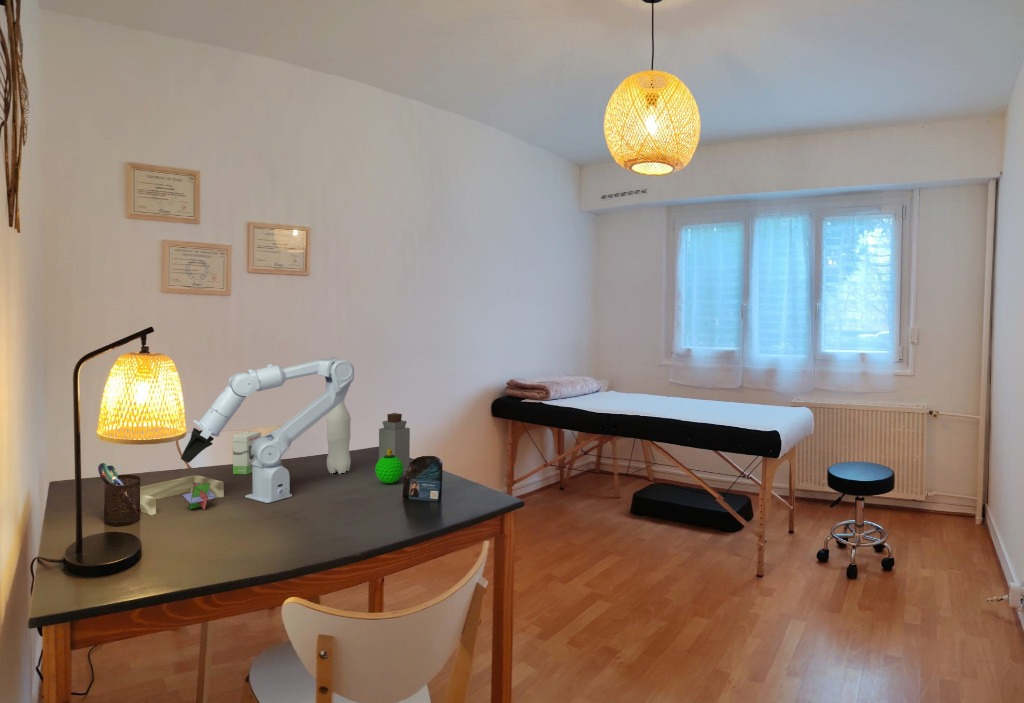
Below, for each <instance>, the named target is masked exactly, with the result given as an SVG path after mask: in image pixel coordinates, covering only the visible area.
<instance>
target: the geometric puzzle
mask: <svg viewBox="0 0 1024 703" xmlns="http://www.w3.org/2000/svg"><path fill="white" fill-rule="evenodd" d="M209 487H210V483H207V484H203V485H202V484H200V482H198V483H195V482H194V483H193V486H192V488H191V492H187V493H186V492H185V493H183V494H181V496H182V497H183V500H184V502H185V501H187V502H188V503H189V505H188V508H187V509H188V511H190V510H193V509H197V508H199V509H200V508H201V509H202V510H203V511H204V510H205V511H206V510H207V504H208V500H211V501H209V503H210V502H211V503H212V501H215V500H216V498H218V497H216V495H213V494H212V493H211V492H210V491H209V490H208V489H209ZM211 487H212V486H211ZM187 502H185V504H186V503H187Z"/></svg>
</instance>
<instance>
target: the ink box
mask: <svg viewBox="0 0 1024 703" xmlns="http://www.w3.org/2000/svg"><path fill="white" fill-rule="evenodd" d="M259 437H262V432H261V431H253V430H246V431H243V432H240V433H237V434H234V435H232V474H233V475H249V474H251V473H252V463H253V462H254V460H255V458H256V457H255V456H254V455H253V453H252V444H253V443H254V441H255V440H256V439H257V438H259Z"/></svg>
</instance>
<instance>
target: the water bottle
mask: <svg viewBox="0 0 1024 703" xmlns="http://www.w3.org/2000/svg"><path fill="white" fill-rule="evenodd" d="M351 420H352V419H351V414H350V412H349V410H348V408H347V407H346V404H345V399H344V400H343V401H342V402H341V403H340V404H339V405H337V406H336V407H335V408H334V409H332V410H331V411H330V412H329V413H327V416H326V434H327V435H326V440H327V447H328V448H327V449H328V450H327V456H326V457H327V458H326V467H327V470H328V472H329V473H330V474H331V473H332V474H331V475H334V474H333V473H338V475H342V474H341V473H344V474H345V473H347V472H346V471H348V472H349V471H350V468H351V454H350V441H351Z"/></svg>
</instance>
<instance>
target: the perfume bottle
mask: <svg viewBox="0 0 1024 703" xmlns="http://www.w3.org/2000/svg"><path fill="white" fill-rule="evenodd" d="M386 416H387V420H383V421H382V426H383V427H380V428H379V429H378V461H379V460H380V459H381V458H382V457H384V456H385V455H387V449H392V455H394V456H395V457H397V458H398V459H400V460H401V462H402V464H403V469H405V470H406V469H407V467H408V466H409V467H410V451H411V450H410V449H411V448H410V445H411V444H410V442H411V441H410V438H411V436H410V435H411V432H410V430H411V428H410V427H406V426H407V422H408V421H407V420H402V418H403V417H402V416H403V414H402V413H397V412H393V413H387V414H386Z"/></svg>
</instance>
